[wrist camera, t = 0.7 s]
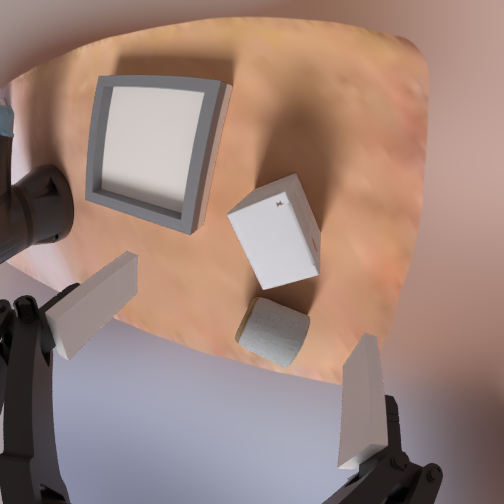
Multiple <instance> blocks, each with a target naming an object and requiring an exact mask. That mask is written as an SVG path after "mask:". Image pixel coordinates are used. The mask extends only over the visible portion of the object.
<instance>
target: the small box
mask: <svg viewBox="0 0 504 504" xmlns="http://www.w3.org/2000/svg"><path fill="white" fill-rule="evenodd" d="M227 217H228V219H229V221H230V223H231V226H232V228H233V230H234V232H235V234H236V236H237V238H238V240H239V242H240V244H241V246H242V248H243V250H244V252H245V254H246V256H247V258H248V260H249V262H250V264H251V266H252V268H253V270H254V273H255V275H256V277H257V279H258V281H259V283H260V285H261V287H262V289H263V290H265V289H269V288H273V287H277V286H280V285H284V284H288V283H291V282H295V281H299V280H302V279H306V278H309V277H313V276H317V275H319V273H320V242H321V233H320V230H319V228H318V225H317V223H316V220H315V217H314V215H313V212H312V210H311V207H310V205H309V202H308V200H307V198H306V195H305V193H304V190H303V188H302V186H301V183H300V181H299V179H298V176H297V174H296V173H294V174H292V175H289V176H287V177H284V178H281V179H279V180H276V181H274V182H271V183H269V184H266V185H264V186H261V187H259V188H256V189H254V190H253V191H252V192H251V193H250V194H248V195H247V196H246V197H245V198H244V199H243V200H242V201H241V202H240V203H238V204H237V205H236V206H235V207H234V208H233V209H232V210H231V211H230V212H229V213H228V214H227Z"/></svg>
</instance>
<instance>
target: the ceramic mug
mask: <svg viewBox="0 0 504 504" xmlns="http://www.w3.org/2000/svg"><path fill="white" fill-rule="evenodd" d="M309 324H310V317H309V316H307V315H305V314H302V313H300V312H297V311H295V310H293V309H290V308H288V307H285V306H283V305H280V304H278V303H276V302H274V301H271V300H269V299H266V298H262V297H256V298H254V299H253V300H252V301H251V303H250V305H249V307H248V309H247V311H246V313H245V316H244V318H243V320H242V322H241V324H240V326H239V328H238V330H237V333H236V336H235V340H236V342H237V343H238V344H239V345H241V346H242V347H244V348H245V349H247V350H249V351H251V352H253V353H256V354H258V355H260V356H262V357H264V358H266V359H268V360H270V361H272V362H274V363H276V364H278V365H280V366H282V367H288V366H289V365H290V364H291V363H292V362H293V361H294V359H295V357H296V356H297V354H298V353H299V351H300V349H301V347H302V345H303V342H304V340H305V338H306V335H307V332H308V329H309Z"/></svg>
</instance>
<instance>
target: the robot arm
mask: <svg viewBox="0 0 504 504" xmlns="http://www.w3.org/2000/svg"><path fill="white" fill-rule="evenodd" d="M13 125H14V111H13V109H12V108H11V107H9V106H7V105H0V264H1V263H3V262H5V261H6V260H8V259H9V258H11V257H13V256H14V255H16V254H18V253H19V252H21V251H23V250H24V249H26V248H28V247H30V246H32V245H39V244H48V243H55V242H58V241H59V240H61V239H63V238H65V237H66V236H67V235H68V234H69V232H70V230H71V228H72V224H73V202H72V196H71V193H70V189H69V186H68V184H67V182H66V180H65V178H64V176H63V175H62V173H61V172H60V171H59V170H58V169H57V168H56V167H55V166H53V165H49V164H47V165H43V166H39V167H37V168H35V169H33V170H32V171H31V172H29V173H28V174H27V175H25V176H24V177H23V178H22V179H20V180H19V181H18V182H17V183H16V184H14V185H11V155H12V141H13V137H14V134H13ZM137 264H138V255H136V254H134V253H131V252H129V251H126V252H125V253H124V254H122V255H121V256H119V257H118V258H116V259H115V260H114V261H112V262H111V263H109V264H108V265H107V266H105V267H104V268H102V269H101V270H100V271H98V272H97V273H96V274H94V275H93V276H91V277H90V278H89V279H87V280H86V281H85V282H83V283H82V284H79V283H75V284H72V285H69V286H68V287H66V288H65V289H64V290H62V292H60V293H58V294H57V296H55V297H53V298H52V299H51V300H50V301H48V302H47V303H46V304H44V305H43V306H42V307H41V308H39V309H38V306H37V303H36V300H35V298H33V297H32V296H29V295H25V296H21V297H19V298H18V299H16V300H15V301H14V303H13V306H14V309H15V310H13V309H12V308H11V305H10V303H9V301H7V300H5V299H2V300H0V340H1V338H2V340H1V342H0V414H1V411H2V407H3V403H4V422H3V432H4V433H3V435H4V451H3V453H1V454H0V489H1V495H2V501H3V504H71V503H70V500H69V496H68V492H67V488H66V486H65V483H64V482H63V480H62V478H61V475H60V471H59V465H58V460H57V452H56V444H55V434H54V422H53V403H52V369H53V368H52V367H53V350H52V349H53V348H54V347H55V346H56V348H57V351H58V353H59V354H60V355H61V356H63V357H64V358H65V359H67V360H68V361H70V360H71V358H72V357H73V356H74V355H75V354H76V353H77V352H78V351H79V350H80V349H81V348H82V347H83V346H84V345H85V344H86V343H87V342H88V341H89V340H90V339H91V338H92V337H93V336H94V335H95V334H96V333H97V332H98V331H99V330H100V329H101V328H102V327H103V326H104V325H105V324H106V323H107V322H108V321H109V320H110V319H111V318H112V317H113V316H114V315H115V314H116V313H117V312H118V311H119V310H120V309H121V308H122V307H123V306H124V305H126V304H127V303H128V302H129V301H130V300H131V299H132V298H133V297H134V296H135V295H136V294H137ZM357 466H359V472H358V473H357V474H355V475H353V476H351V477H350V478H348V480H349V481H348V482H347V483H346V484H344V485H343V486H342V487H341V488H340V489H339V490H338V491H337V492H335V493H334V494H333V495H332V496H331V497H329V498H328V499H327V500H326V501H325V502H323V503H322V504H434V502H435V499H436V496H437V494H438V491H439V488H440V485H441V482H442V478H443V473H442V470H441V468H440V467H439V466H438V465H437V464H434V463H430V464H428V465H426V466H424V467H422V466H419V465H417V464H414V463H411V462H410V461H409V458H408V456H407V455H406V453H405V452H403V451H402V449H401V435H400V424H399V416H398V405H397V403H396V401H395V399H394V397H393V396H388V395H385V394H384V385H383V376H382V368H381V361H380V354H379V347H378V341H377V336H374V335H370V334H367V333H364V335H363V336H362V338H361V340H360V341H359V343H358V344H357V346H356V347H355V349H354V350H353V352H352V353H351V355H350V356H349V358H348V359H347V361H346V362H345V364H344V365H343V392H342V418H341V433H340V446H339V456H338V466H337V468H342V469H354V468H356V467H357Z"/></svg>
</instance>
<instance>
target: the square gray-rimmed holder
mask: <svg viewBox="0 0 504 504" xmlns="http://www.w3.org/2000/svg"><path fill="white" fill-rule="evenodd" d="M232 88H233V86H231V85H229V84H227V83H225V82H223V81H220V80H212V79H203V78H193V77H181V76H164V75H110V76H99V77H98V82H97V87H96V92H95V98H94V104H93V110H92V117H91V124H90V132H89V142H88V153H87V167H86V193H85V200H87V201H90V202H93V203H96V204H99V205H102V206H105V207H108V208H111V209H114V210H117V211H120V212H123V213H126V214H129V215H132V216H135V217H137V218H140V219H143V220H146V221H149V222H152V223H155V224H158V225H161V226H164V227H167V228H170V229H173V230H176V231H179V232H182V233H185V234H188V235H191V234H192V233H194V232H195V231H196V230H197V229H199V228H200V227H201V226H202V225H204V219H205V214H206V208H207V203H208V197H209V192H210V187H211V182H212V177H213V172H214V167H215V162H216V157H217V153H218V148H219V143H220V139H221V134H222V130H223V125H224V121H225V117H226V113H227V108H228V104H229V100H230V96H231V92H232Z"/></svg>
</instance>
